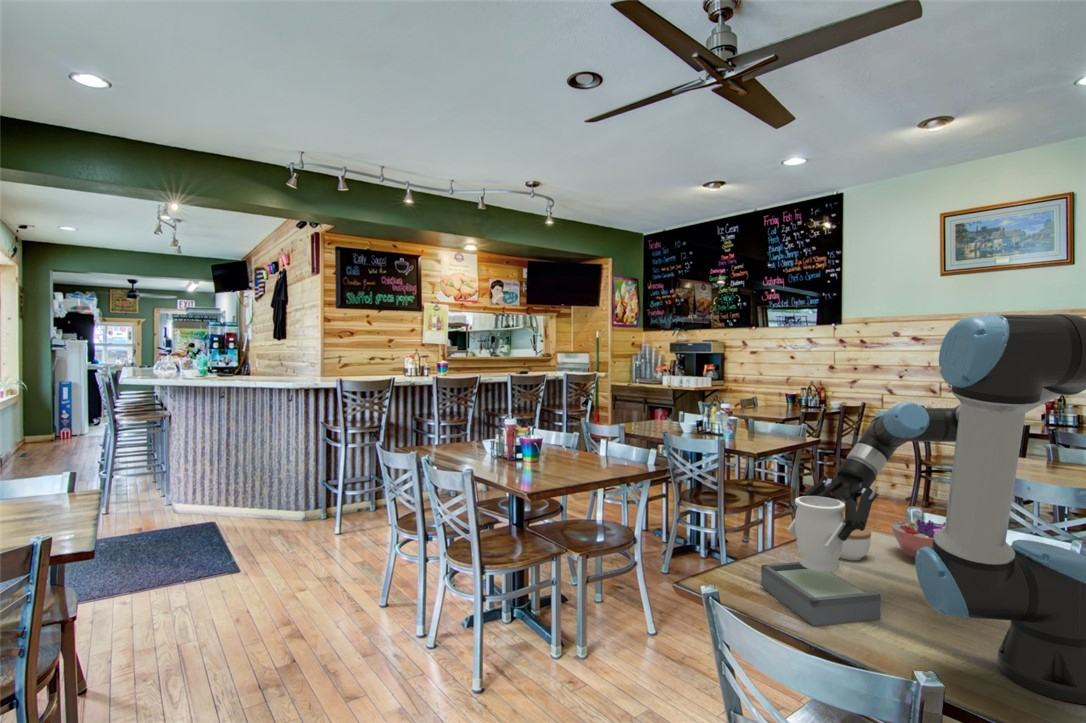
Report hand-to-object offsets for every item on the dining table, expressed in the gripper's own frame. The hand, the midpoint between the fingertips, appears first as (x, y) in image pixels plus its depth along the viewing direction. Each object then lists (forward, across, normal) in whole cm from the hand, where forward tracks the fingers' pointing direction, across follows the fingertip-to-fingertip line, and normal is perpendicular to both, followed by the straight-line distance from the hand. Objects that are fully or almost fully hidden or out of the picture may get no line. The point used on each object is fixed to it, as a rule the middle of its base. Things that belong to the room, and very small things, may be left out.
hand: (809, 541), depth 131 cm
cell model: (-26, +8, -47) cm, 54 cm away
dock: (+9, 0, -12) cm, 15 cm away
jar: (+2, 0, -7) cm, 7 cm away
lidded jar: (-13, +19, -34) cm, 41 cm away
